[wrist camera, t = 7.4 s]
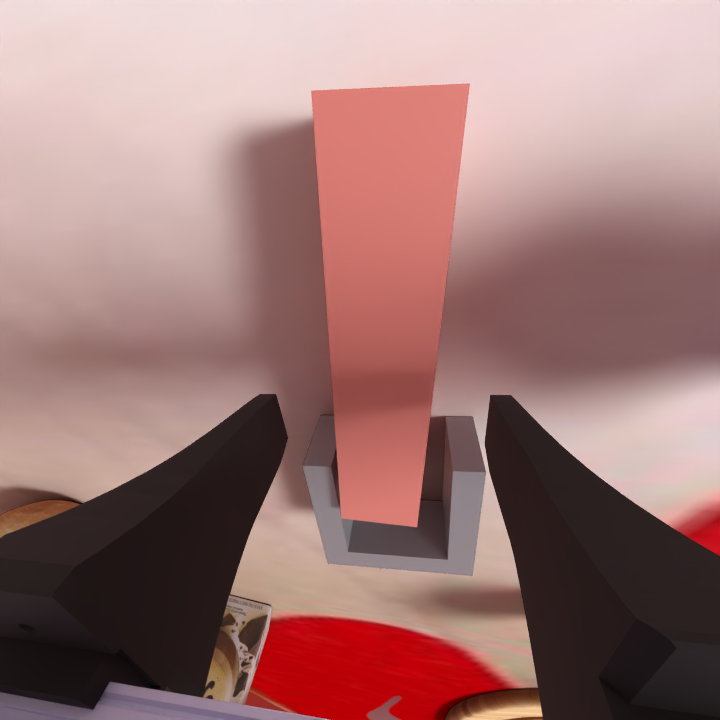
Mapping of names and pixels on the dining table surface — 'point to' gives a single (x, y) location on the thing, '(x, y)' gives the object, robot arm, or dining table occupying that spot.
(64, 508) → the bread roll
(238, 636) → the coffee box
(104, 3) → the dining table surface
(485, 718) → the wooden plate with food
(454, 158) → the pink long block
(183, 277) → the dining table surface
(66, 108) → the dining table surface
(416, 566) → the end cap
